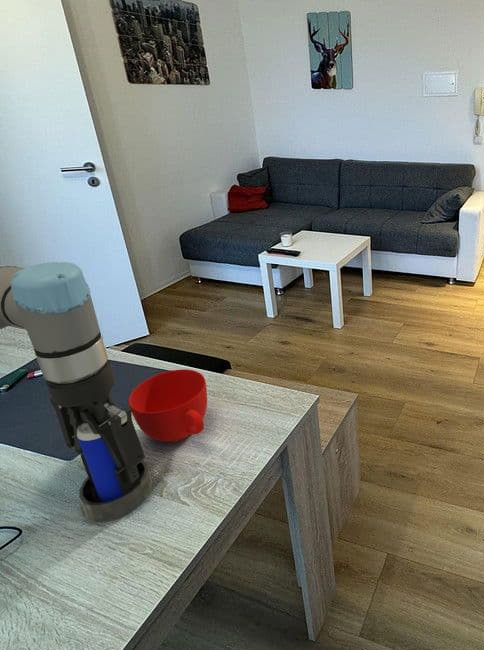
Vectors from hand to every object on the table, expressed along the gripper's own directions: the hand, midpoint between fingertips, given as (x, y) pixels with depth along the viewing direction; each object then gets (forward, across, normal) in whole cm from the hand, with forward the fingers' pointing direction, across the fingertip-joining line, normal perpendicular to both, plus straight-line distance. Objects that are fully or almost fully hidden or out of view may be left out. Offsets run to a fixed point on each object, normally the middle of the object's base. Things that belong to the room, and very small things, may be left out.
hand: (116, 486), depth 70 cm
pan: (+2, 0, 0) cm, 2 cm away
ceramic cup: (+3, +1, -14) cm, 15 cm away
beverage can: (+2, 0, 0) cm, 2 cm away
